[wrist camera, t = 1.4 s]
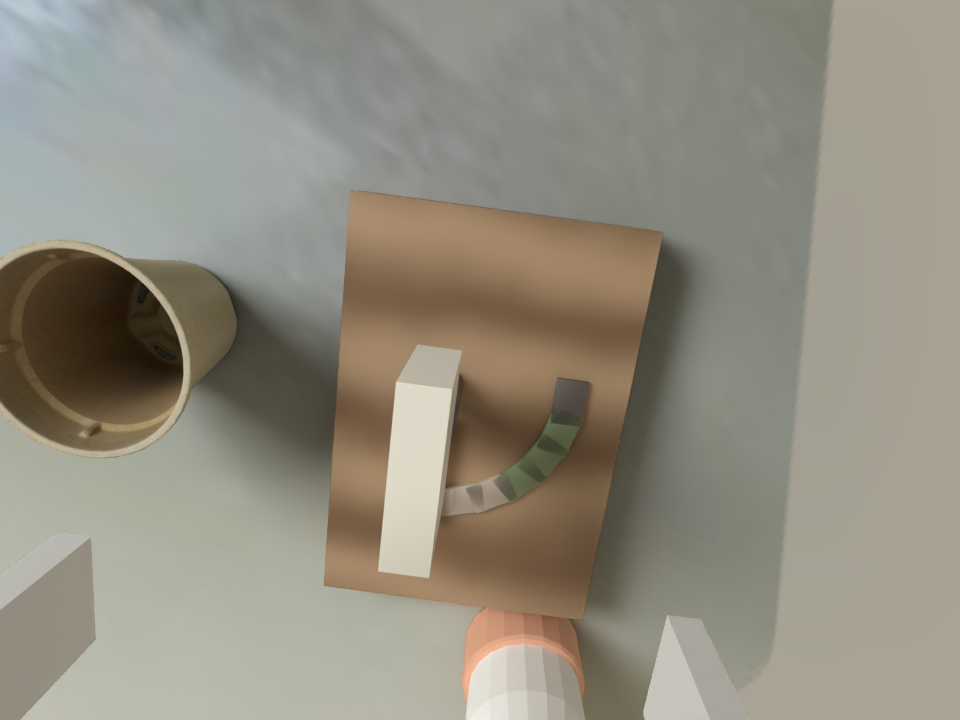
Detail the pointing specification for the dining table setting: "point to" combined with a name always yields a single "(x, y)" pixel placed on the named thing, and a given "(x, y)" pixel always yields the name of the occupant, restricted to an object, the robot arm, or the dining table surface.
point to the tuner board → (488, 392)
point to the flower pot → (104, 344)
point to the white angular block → (419, 459)
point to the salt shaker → (522, 668)
